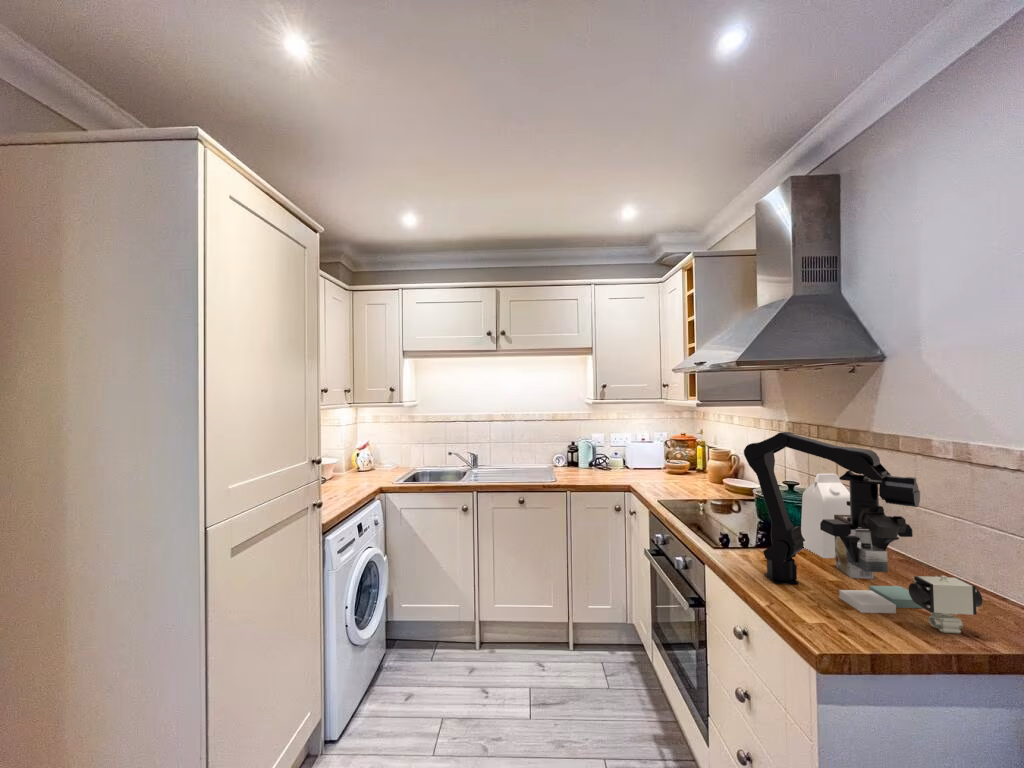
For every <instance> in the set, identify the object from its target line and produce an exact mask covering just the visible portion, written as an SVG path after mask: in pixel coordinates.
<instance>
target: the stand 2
mask: <svg viewBox="0 0 1024 768" xmlns="http://www.w3.org/2000/svg"><path fill="white" fill-rule="evenodd" d="M868 590H871V591H873V592H875V593H877V594H878V595H880V596H882V597H883V598H885V599H887V600H888V601H890V602H892V603H893V604H895V605H896V609H898V608H899V609H901V608H902V609H905V608H906V609H924V608H923V607H921V606H919V605H918V604H916V603H915V602H914V601H913V600H912V599H911V597H910V594H909V589H907V588H905V587H904V586H901V585H869V586H868Z"/></svg>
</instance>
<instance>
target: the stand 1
mask: <svg viewBox="0 0 1024 768" xmlns="http://www.w3.org/2000/svg"><path fill="white" fill-rule="evenodd" d="M838 593H839V594H838V595H839V599H841V600H842V601H843V602H845V603H847V604H848V605H850V606H851V607H853V608H854V609H855V610H856V611H859V613H866V614H897V608H896V605H895V604H893V603H892V602H890V601H888V600H887V599H885V598H883V597H882V596H880V595H878V594H877V593H875V592H873V591H871V590H869V589H868V590H866V589H865V590H861V589H857V590H856V589H855V590H854V589H839V591H838Z"/></svg>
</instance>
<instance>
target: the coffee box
mask: <svg viewBox="0 0 1024 768" xmlns="http://www.w3.org/2000/svg"><path fill="white" fill-rule="evenodd" d="M847 517H851V515H834V519H837V520H839V521H842V522H844V523H846V524H851V522H848V521H847ZM858 528H861V527H858ZM856 536H857V537H859V538H860V540H859V541H858V542H867V543H870V544H872V540H871V533H870V532H856ZM834 559H835V560H834V561H835V567H836V568H837V569H838V570H840V571H841V572H842V573H843V574H845V575H846V576H848V577H849V578H851V579H865V580H874V579H875V576H874V575H875V574H874V573H875V572H865V571H864V570H862V569H860V568H858V567H856V566H854V565H853V564H851V563H849V562H847V555H846V547H845V545H844V543H843V542H842V540H841V539H840V537H839V536H835V558H834Z"/></svg>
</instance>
